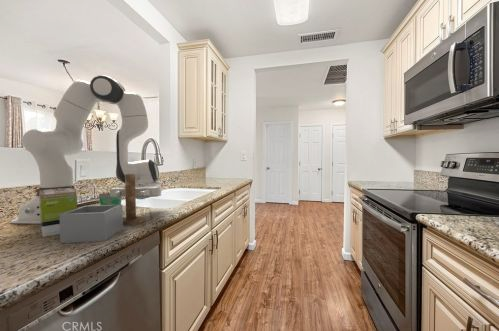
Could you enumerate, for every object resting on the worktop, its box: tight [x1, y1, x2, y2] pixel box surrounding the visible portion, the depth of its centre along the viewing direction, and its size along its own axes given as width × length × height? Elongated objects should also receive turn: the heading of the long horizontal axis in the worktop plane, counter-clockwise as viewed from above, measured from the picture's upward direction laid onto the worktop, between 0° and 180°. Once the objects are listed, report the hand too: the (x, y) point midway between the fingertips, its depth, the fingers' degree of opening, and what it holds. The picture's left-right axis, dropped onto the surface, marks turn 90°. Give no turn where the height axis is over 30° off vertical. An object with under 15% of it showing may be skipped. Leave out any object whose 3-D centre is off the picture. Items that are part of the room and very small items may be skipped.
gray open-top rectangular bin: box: [59, 204, 124, 244], centre depth 77 cm, size 13×13×9 cm
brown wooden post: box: [123, 174, 145, 226], centre depth 90 cm, size 8×5×20 cm, turn 97°
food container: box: [98, 192, 122, 205], centre depth 110 cm, size 12×6×10 cm, turn 168°
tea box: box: [39, 188, 78, 238], centre depth 83 cm, size 15×10×15 cm
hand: (130, 194), depth 90 cm, fingers open, 8 cm apart
